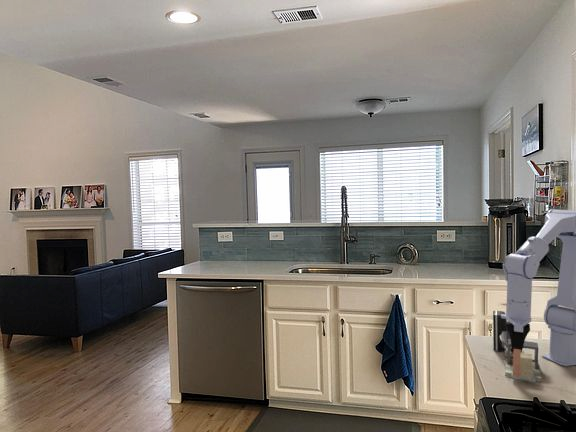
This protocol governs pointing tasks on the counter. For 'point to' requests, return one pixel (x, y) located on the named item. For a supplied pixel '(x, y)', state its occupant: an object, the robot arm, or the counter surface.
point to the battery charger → (498, 330)
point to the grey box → (529, 346)
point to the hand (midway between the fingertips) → (516, 351)
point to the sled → (522, 366)
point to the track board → (509, 366)
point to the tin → (506, 337)
